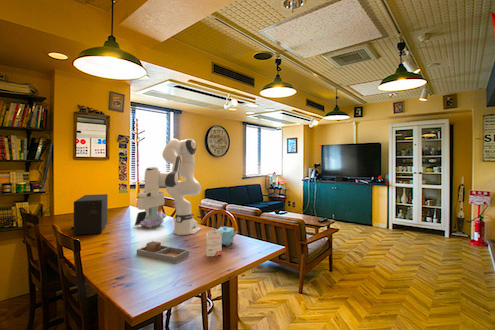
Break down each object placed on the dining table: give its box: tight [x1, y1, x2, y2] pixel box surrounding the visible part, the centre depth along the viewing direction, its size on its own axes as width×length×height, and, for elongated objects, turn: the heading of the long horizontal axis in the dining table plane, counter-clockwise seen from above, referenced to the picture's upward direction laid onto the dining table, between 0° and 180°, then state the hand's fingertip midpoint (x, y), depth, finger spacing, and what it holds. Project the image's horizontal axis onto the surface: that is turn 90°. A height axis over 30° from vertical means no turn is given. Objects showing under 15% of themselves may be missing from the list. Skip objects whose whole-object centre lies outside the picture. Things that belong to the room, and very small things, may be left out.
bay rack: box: [136, 244, 190, 265], centre depth 144 cm, size 12×27×4 cm, turn 67°
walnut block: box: [145, 240, 162, 253], centre depth 146 cm, size 5×6×6 cm
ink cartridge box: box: [205, 229, 223, 257], centre depth 147 cm, size 9×5×15 cm, turn 105°
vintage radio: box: [70, 193, 109, 236], centre depth 198 cm, size 38×20×25 cm, turn 23°
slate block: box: [146, 206, 157, 220], centre depth 161 cm, size 4×4×8 cm
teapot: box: [211, 226, 238, 247], centre depth 167 cm, size 16×18×11 cm
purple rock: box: [134, 210, 167, 229], centre depth 208 cm, size 20×22×18 cm
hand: (151, 214), depth 161 cm, fingers closed on slate block, 4 cm apart
